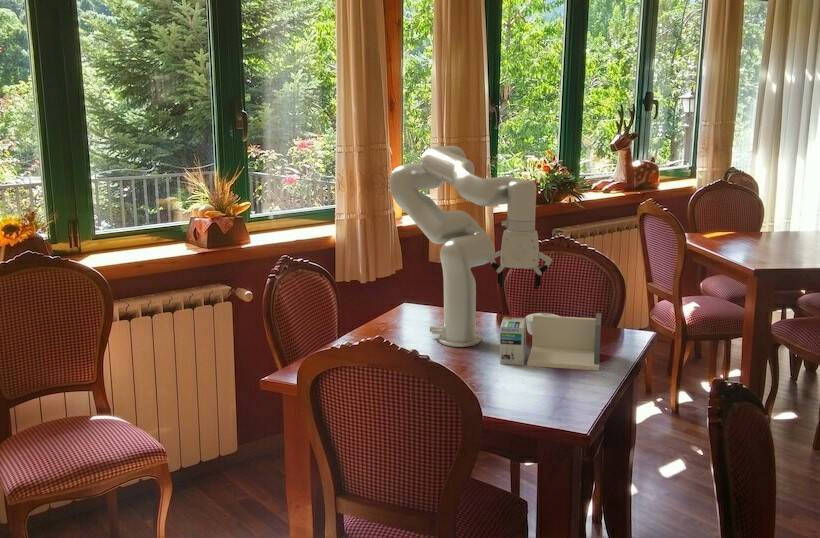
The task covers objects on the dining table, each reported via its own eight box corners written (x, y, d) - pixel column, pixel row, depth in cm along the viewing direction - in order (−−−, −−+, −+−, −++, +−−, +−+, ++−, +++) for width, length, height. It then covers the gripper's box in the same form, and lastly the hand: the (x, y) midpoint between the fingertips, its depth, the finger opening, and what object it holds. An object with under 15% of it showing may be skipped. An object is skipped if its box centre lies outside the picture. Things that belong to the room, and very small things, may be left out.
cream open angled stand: (527, 365, 217) (528, 329, 215) (532, 348, 231) (533, 315, 229) (598, 370, 213) (600, 334, 211) (599, 353, 227) (601, 318, 225)
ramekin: (566, 331, 249) (567, 315, 247) (555, 341, 239) (556, 324, 238) (532, 327, 254) (532, 311, 252) (520, 336, 244) (520, 319, 243)
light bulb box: (523, 366, 217) (524, 328, 215) (499, 364, 219) (499, 326, 216) (526, 353, 228) (527, 317, 225) (502, 352, 229) (503, 316, 227)
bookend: (593, 364, 214) (595, 324, 212) (594, 350, 226) (596, 313, 223) (599, 364, 214) (600, 325, 212) (599, 350, 225) (601, 313, 223)
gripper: (487, 226, 214) (485, 288, 218) (552, 229, 210) (549, 292, 214) (490, 222, 221) (489, 282, 225) (554, 224, 217) (551, 285, 221)
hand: (518, 287), depth 219 cm, fingers open, 9 cm apart
